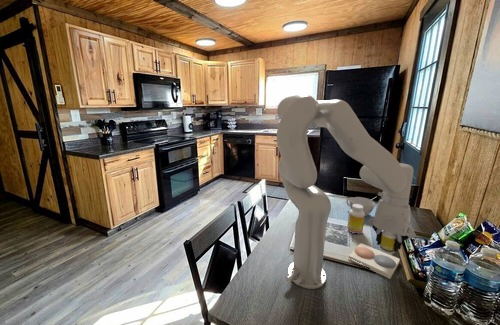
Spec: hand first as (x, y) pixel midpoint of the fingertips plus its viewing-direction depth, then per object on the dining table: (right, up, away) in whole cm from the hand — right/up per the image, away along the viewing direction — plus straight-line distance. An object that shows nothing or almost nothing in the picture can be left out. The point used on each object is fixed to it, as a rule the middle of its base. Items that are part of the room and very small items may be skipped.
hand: (387, 246), depth 79 cm
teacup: (+11, +2, +44) cm, 45 cm away
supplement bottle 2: (0, -2, 0) cm, 2 cm away
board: (-3, -7, +4) cm, 9 cm away
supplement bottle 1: (0, -3, +25) cm, 25 cm away
